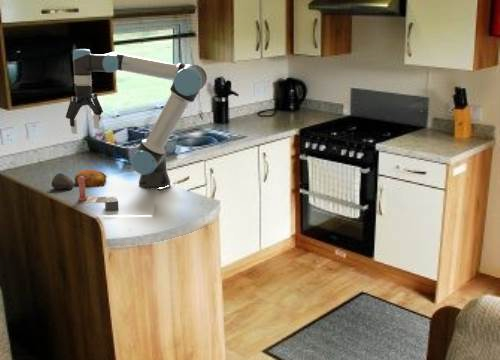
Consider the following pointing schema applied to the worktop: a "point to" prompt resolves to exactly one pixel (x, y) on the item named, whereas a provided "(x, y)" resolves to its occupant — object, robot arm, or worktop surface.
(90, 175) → the croissant
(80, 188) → the pawn
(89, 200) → the track
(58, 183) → the stone
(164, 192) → the worktop surface
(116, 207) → the die
